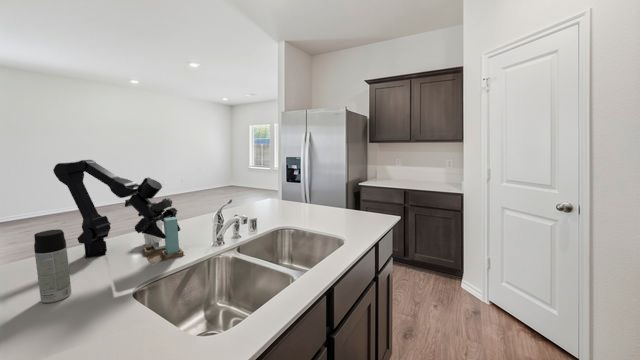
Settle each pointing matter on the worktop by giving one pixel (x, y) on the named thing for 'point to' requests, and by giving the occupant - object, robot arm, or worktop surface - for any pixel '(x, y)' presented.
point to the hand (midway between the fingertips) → (172, 234)
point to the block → (171, 235)
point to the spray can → (52, 265)
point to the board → (159, 254)
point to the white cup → (150, 238)
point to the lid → (158, 244)
